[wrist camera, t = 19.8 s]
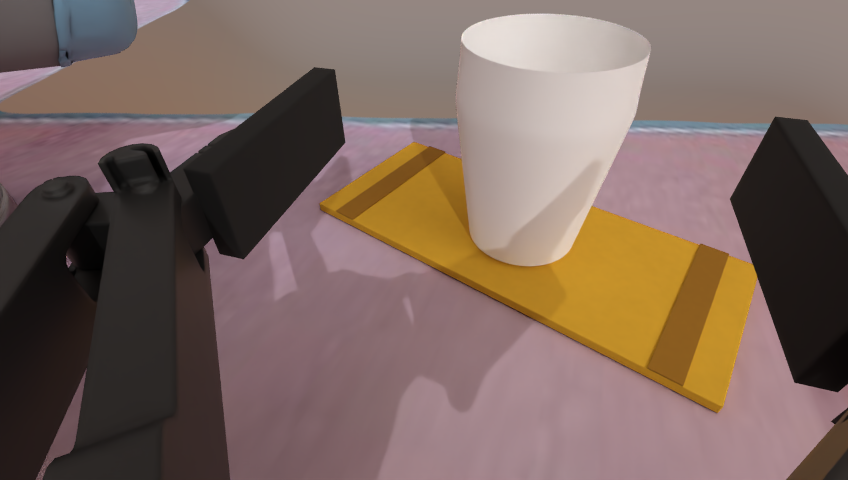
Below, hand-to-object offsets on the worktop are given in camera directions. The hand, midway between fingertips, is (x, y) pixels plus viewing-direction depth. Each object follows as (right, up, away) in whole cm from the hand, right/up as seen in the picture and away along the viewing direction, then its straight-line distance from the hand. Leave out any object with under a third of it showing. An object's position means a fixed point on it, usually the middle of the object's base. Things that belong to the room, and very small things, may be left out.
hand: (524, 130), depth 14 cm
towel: (+3, -3, +15) cm, 16 cm away
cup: (+3, -3, +15) cm, 15 cm away
